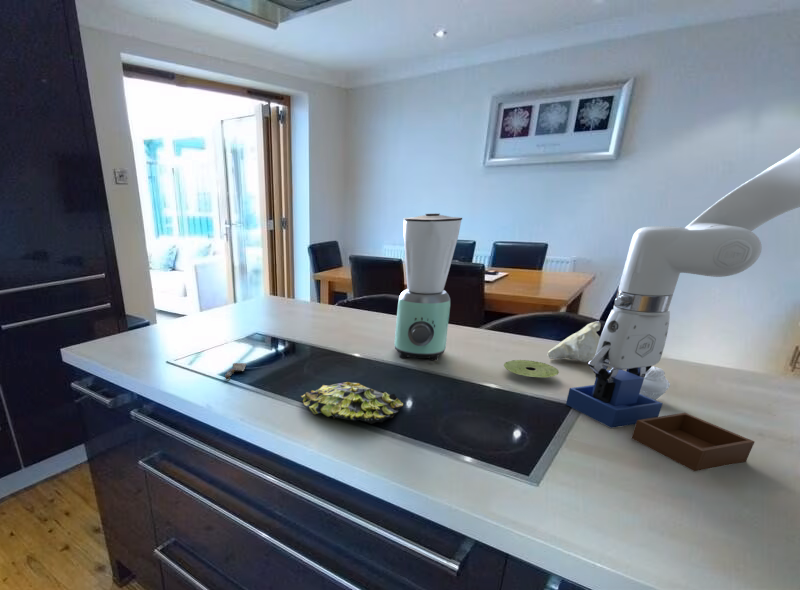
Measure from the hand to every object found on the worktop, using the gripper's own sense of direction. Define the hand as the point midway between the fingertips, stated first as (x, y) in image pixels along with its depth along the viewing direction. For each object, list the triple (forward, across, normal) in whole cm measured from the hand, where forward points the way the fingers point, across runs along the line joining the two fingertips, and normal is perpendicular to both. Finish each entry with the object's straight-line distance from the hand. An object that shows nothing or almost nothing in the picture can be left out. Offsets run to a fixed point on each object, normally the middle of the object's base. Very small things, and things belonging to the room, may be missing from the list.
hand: (614, 397), depth 83 cm
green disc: (+3, -1, +20) cm, 20 cm away
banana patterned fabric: (+3, -47, +16) cm, 50 cm away
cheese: (+3, +19, +28) cm, 34 cm away
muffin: (+3, +12, +3) cm, 13 cm away
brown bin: (+3, 0, -14) cm, 14 cm away
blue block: (0, 0, 0) cm, 0 cm away
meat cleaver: (+3, -67, +42) cm, 79 cm away
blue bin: (+3, 0, 0) cm, 3 cm away
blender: (+3, -17, +42) cm, 45 cm away
